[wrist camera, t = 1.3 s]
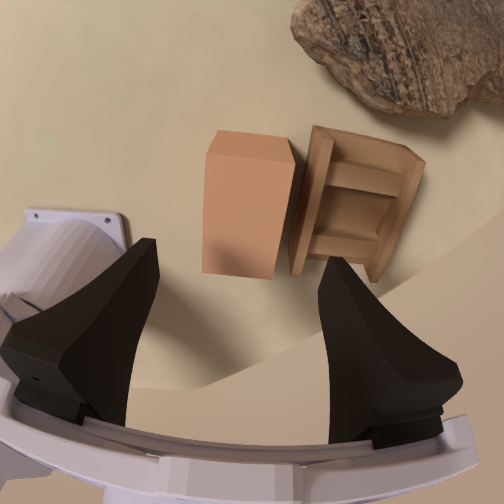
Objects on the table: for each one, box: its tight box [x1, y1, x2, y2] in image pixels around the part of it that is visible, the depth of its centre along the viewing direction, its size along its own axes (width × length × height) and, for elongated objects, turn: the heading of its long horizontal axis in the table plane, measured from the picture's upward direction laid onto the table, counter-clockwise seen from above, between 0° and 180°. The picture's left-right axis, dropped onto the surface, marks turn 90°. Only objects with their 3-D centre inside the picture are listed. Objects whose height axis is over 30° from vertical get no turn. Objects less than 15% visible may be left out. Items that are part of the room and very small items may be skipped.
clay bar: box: [202, 130, 295, 280], centre depth 17 cm, size 7×4×4 cm, turn 173°
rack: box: [288, 125, 426, 283], centre depth 18 cm, size 9×6×3 cm
